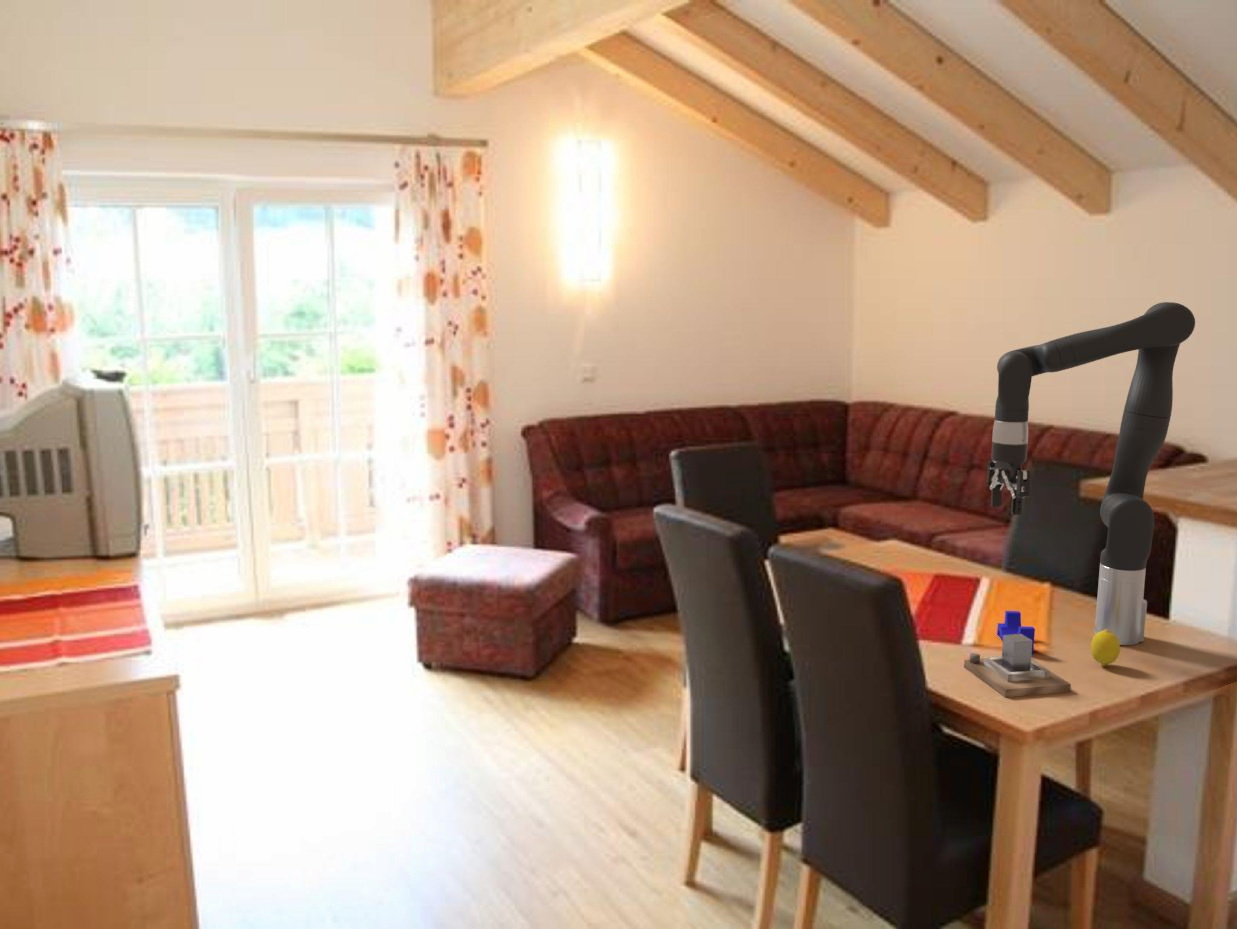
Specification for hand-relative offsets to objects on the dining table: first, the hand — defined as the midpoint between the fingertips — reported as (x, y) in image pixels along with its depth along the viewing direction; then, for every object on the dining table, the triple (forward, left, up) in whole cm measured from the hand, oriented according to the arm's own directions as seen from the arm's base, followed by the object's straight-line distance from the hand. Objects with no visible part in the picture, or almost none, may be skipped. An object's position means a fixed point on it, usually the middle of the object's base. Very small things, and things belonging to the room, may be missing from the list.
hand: (1005, 510), depth 233 cm
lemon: (-9, +26, -28) cm, 39 cm away
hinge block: (+13, +29, -26) cm, 41 cm away
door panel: (+13, +29, -28) cm, 42 cm away
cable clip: (+2, +11, -28) cm, 31 cm away
